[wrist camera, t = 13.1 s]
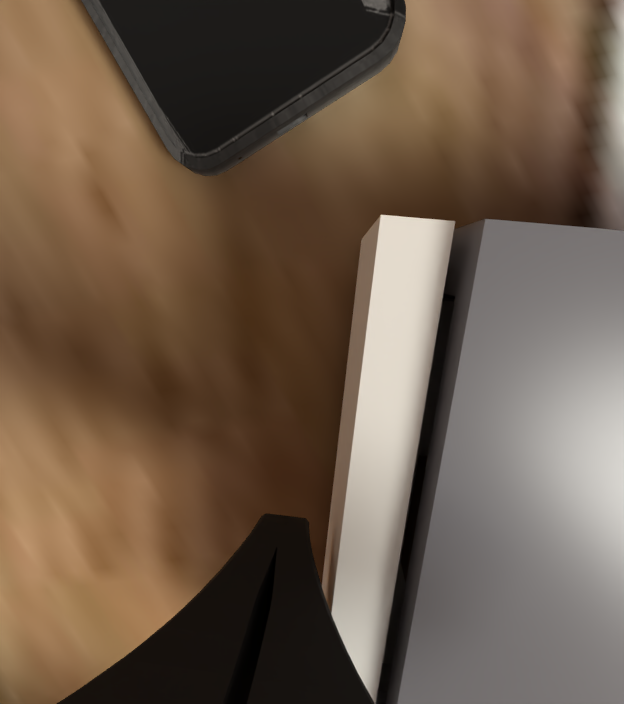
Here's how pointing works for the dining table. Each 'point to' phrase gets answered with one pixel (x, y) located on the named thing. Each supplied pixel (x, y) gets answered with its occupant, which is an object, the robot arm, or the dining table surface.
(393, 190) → the dining table surface
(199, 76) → the phone
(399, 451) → the tray
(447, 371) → the box housing
